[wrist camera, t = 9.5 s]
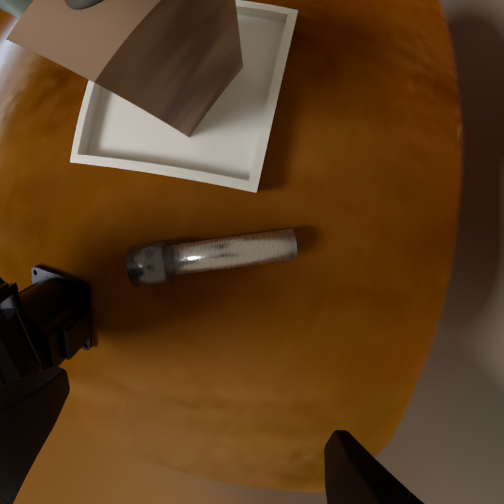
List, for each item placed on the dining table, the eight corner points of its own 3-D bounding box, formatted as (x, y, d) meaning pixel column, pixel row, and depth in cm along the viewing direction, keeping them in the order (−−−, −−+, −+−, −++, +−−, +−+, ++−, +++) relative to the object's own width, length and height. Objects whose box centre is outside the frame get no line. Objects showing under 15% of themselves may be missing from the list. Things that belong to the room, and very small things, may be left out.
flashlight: (147, 279, 20) (132, 292, 18) (139, 242, 20) (122, 250, 17) (295, 261, 20) (301, 272, 17) (290, 220, 19) (296, 226, 17)
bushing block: (189, 137, 17) (91, 81, 6) (123, 97, 17) (3, 38, 5) (243, 67, 16) (227, -60, 4) (174, 32, 15) (106, -75, 4)
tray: (82, 162, 18) (69, 162, 17) (128, 10, 15) (120, 0, 13) (256, 191, 19) (256, 192, 17) (295, 22, 16) (298, 10, 14)
